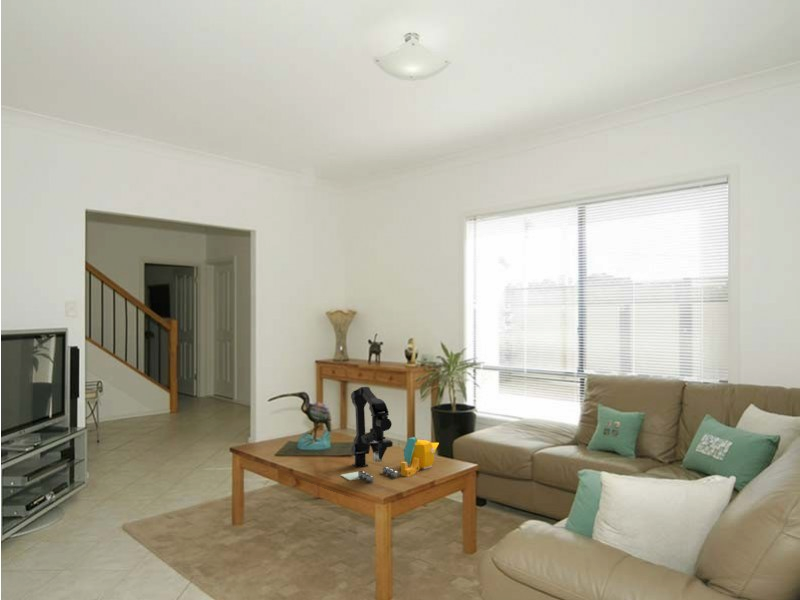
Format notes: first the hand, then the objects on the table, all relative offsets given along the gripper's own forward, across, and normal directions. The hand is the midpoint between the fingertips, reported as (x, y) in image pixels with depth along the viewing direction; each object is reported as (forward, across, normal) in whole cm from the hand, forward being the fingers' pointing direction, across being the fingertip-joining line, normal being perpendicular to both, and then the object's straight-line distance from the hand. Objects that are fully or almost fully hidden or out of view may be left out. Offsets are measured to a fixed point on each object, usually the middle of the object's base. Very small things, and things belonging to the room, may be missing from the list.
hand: (377, 458), depth 276 cm
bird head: (+10, -6, +31) cm, 33 cm away
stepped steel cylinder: (+1, 0, 0) cm, 1 cm away
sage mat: (+10, -8, -9) cm, 15 cm away
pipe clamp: (+10, +2, +18) cm, 21 cm away
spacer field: (+10, 0, 0) cm, 10 cm away
